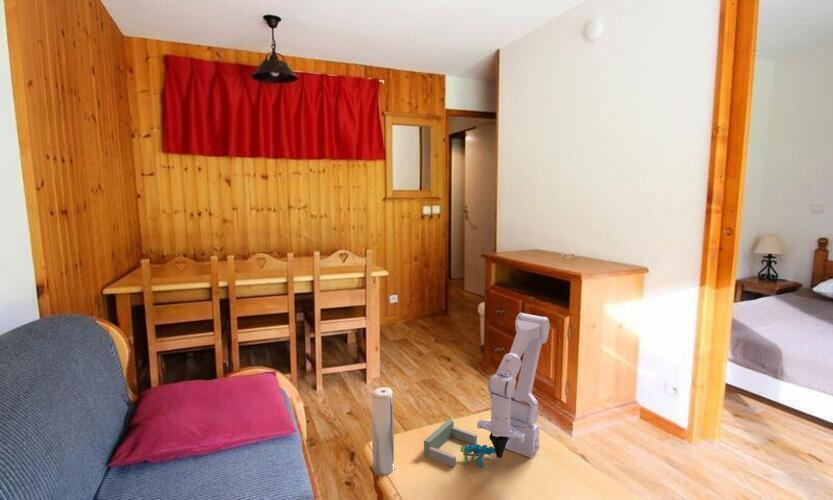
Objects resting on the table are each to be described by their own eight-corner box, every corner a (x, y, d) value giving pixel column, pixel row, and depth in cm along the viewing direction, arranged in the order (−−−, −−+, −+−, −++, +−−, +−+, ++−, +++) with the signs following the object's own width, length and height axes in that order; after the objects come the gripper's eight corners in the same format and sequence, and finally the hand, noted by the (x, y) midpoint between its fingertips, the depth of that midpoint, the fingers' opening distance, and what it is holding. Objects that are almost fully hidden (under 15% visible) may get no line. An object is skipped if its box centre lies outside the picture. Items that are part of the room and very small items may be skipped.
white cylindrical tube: (384, 458, 134) (383, 384, 130) (398, 468, 129) (397, 391, 126) (368, 468, 129) (366, 391, 126) (382, 478, 124) (380, 398, 121)
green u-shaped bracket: (476, 443, 142) (477, 429, 141) (453, 467, 129) (453, 452, 128) (448, 432, 148) (448, 419, 147) (424, 455, 135) (424, 440, 135)
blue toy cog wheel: (498, 450, 135) (493, 442, 127) (498, 471, 131) (493, 464, 124) (464, 449, 138) (457, 441, 131) (463, 469, 134) (456, 462, 127)
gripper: (472, 413, 127) (472, 454, 129) (518, 428, 119) (517, 472, 121) (483, 403, 133) (482, 443, 135) (527, 417, 125) (526, 459, 127)
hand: (499, 456), depth 128 cm, fingers closed
